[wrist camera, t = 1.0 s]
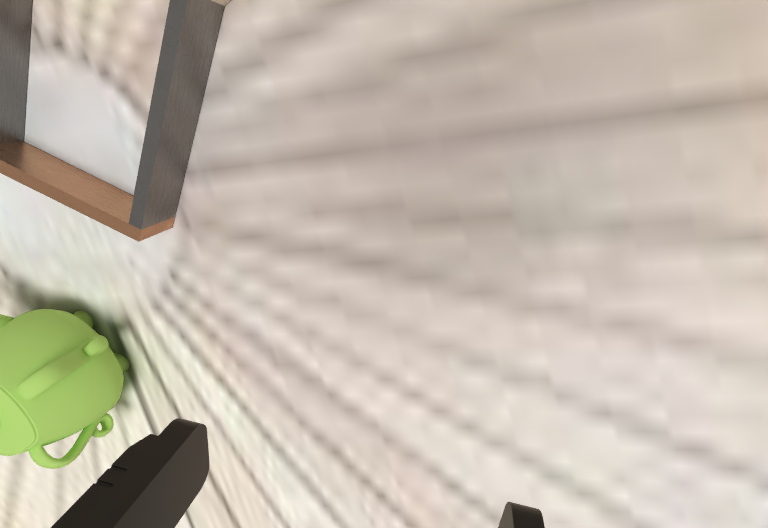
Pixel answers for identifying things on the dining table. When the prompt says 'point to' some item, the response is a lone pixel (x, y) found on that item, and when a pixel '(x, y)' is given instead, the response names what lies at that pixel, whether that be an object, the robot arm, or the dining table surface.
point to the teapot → (55, 383)
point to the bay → (163, 132)
